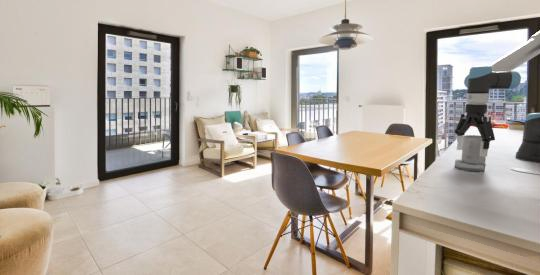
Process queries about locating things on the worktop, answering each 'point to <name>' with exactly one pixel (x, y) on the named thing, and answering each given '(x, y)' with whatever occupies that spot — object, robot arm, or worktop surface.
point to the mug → (472, 150)
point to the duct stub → (469, 166)
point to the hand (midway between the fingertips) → (471, 153)
